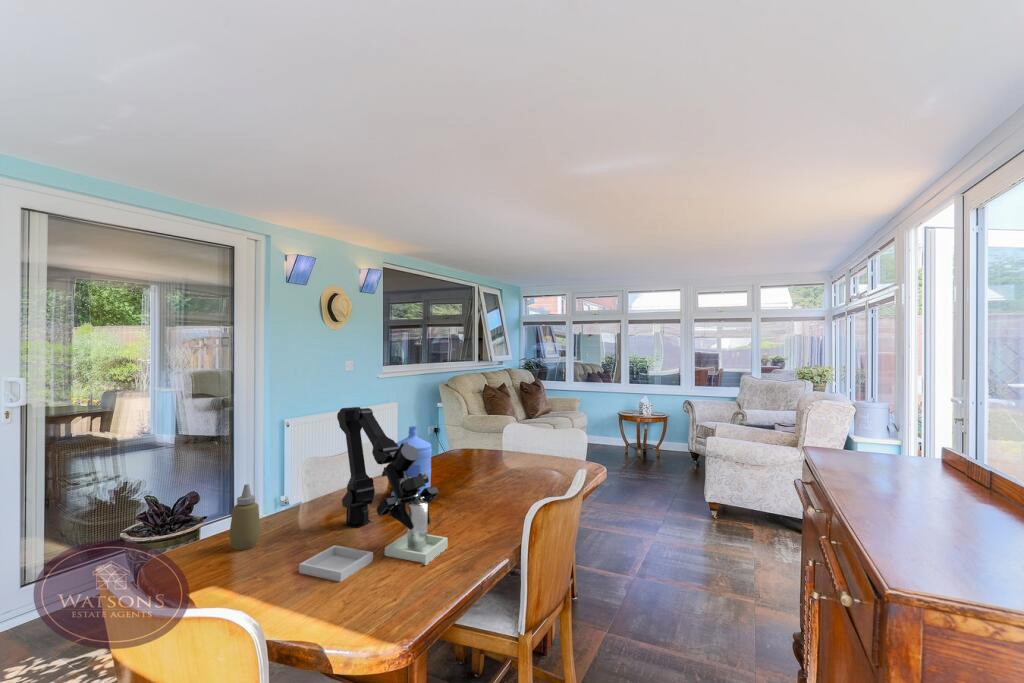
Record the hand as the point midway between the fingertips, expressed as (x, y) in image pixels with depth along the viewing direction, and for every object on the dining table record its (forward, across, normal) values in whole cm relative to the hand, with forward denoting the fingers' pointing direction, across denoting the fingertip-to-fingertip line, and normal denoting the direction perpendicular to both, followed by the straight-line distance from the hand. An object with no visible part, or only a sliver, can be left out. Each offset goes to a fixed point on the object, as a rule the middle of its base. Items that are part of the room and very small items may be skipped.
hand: (420, 526), depth 135 cm
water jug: (-28, +31, +40) cm, 58 cm away
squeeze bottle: (-23, -33, +35) cm, 53 cm away
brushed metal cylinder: (+3, 0, +5) cm, 6 cm away
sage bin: (+5, 0, +6) cm, 8 cm away
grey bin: (0, -21, +11) cm, 24 cm away
